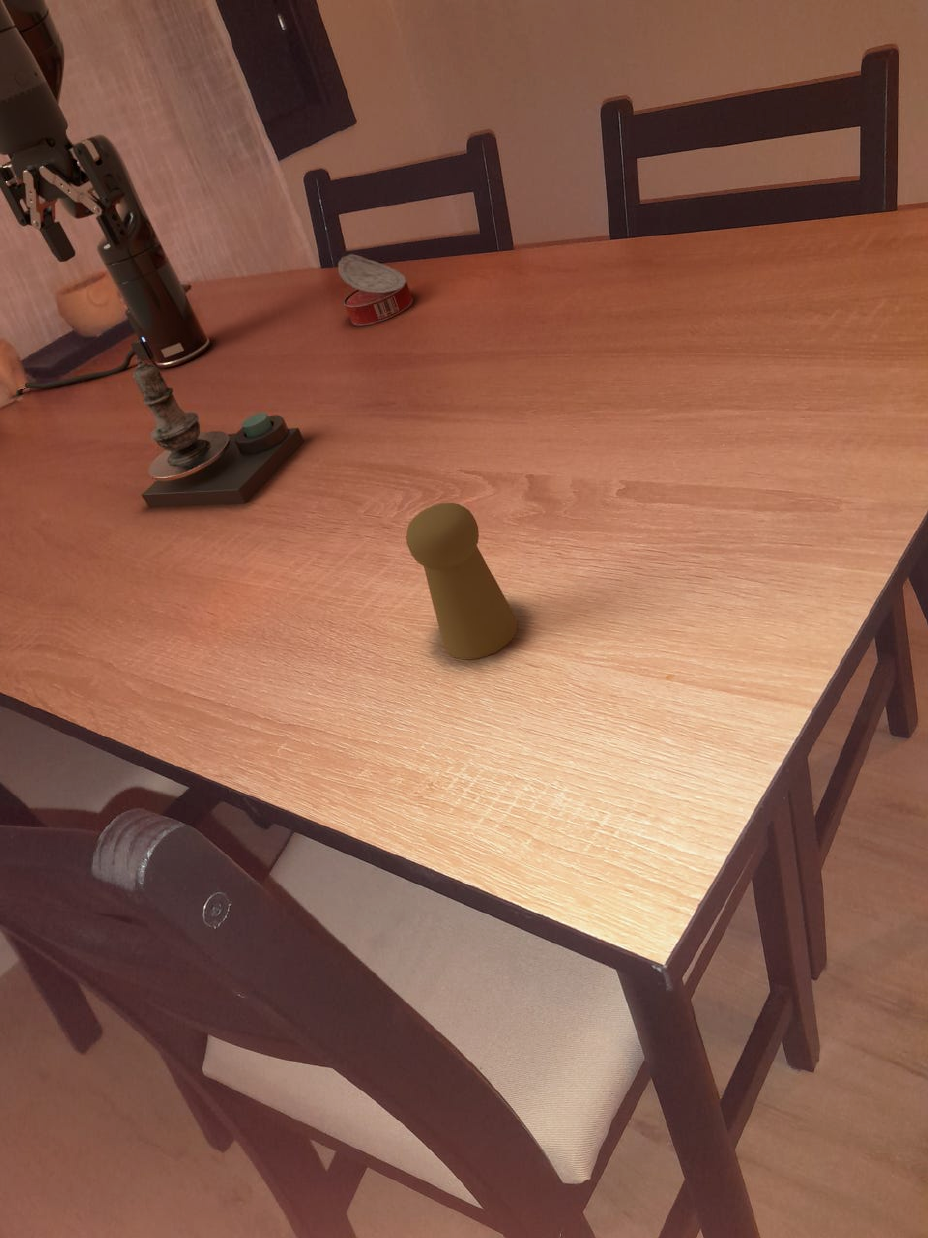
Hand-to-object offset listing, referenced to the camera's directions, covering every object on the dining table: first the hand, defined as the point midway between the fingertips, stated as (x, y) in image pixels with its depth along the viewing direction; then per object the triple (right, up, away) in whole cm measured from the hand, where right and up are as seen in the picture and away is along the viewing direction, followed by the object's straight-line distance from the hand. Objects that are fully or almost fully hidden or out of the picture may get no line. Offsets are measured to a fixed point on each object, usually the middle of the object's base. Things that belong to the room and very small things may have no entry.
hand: (94, 253), depth 103 cm
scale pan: (+8, -21, +8) cm, 24 cm away
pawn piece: (+41, -41, -30) cm, 65 cm away
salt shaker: (+8, -20, +7) cm, 23 cm away
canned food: (+28, +7, +40) cm, 49 cm away
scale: (+12, -22, +9) cm, 27 cm away
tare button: (+16, -18, +8) cm, 25 cm away
